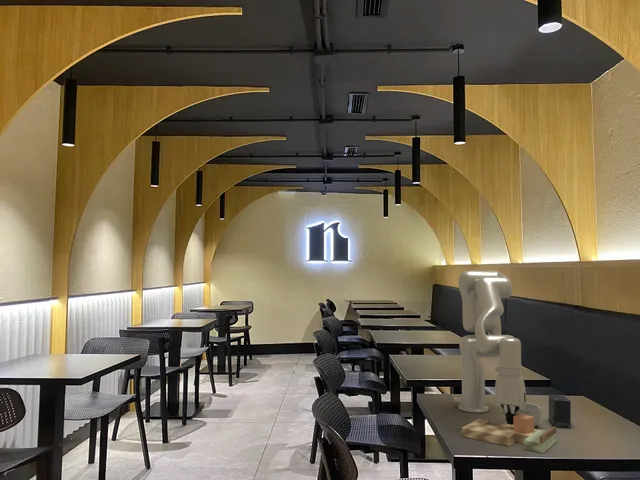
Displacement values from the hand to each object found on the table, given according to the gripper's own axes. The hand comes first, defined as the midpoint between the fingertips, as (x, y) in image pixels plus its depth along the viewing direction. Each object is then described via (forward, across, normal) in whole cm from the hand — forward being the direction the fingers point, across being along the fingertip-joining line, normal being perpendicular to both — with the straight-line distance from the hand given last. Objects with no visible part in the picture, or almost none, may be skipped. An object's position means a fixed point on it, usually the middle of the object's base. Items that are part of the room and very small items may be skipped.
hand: (510, 423), depth 194 cm
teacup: (+5, -2, +16) cm, 17 cm away
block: (+1, +5, -1) cm, 5 cm away
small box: (+5, +9, +28) cm, 30 cm away
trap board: (+4, 0, -4) cm, 6 cm away
